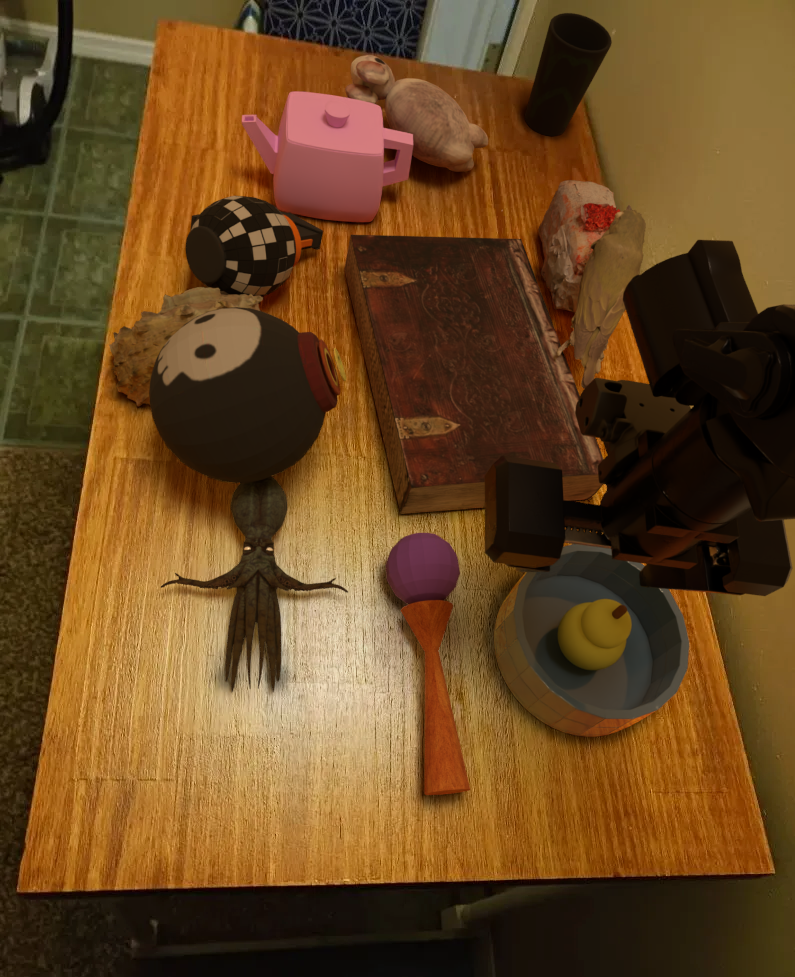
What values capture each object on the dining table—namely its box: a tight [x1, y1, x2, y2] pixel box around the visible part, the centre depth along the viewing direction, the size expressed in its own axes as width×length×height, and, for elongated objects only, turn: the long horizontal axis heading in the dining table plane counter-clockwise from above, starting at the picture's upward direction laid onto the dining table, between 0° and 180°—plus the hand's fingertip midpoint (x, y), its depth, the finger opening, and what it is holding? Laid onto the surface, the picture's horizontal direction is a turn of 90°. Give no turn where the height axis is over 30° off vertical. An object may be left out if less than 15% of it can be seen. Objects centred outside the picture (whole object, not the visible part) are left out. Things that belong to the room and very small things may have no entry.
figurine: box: [160, 476, 349, 693], centre depth 64 cm, size 14×6×18 cm
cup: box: [524, 12, 613, 137], centre depth 101 cm, size 8×8×12 cm
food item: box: [537, 179, 622, 314], centre depth 87 cm, size 14×8×10 cm, turn 5°
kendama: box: [384, 532, 471, 796], centre depth 63 cm, size 6×6×20 cm
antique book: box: [344, 234, 604, 515], centre depth 78 cm, size 29×19×5 cm, turn 12°
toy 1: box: [149, 307, 347, 484], centre depth 63 cm, size 14×14×15 cm
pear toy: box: [558, 599, 632, 670], centre depth 64 cm, size 5×5×9 cm
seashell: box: [109, 286, 264, 407], centre depth 72 cm, size 11×15×10 cm
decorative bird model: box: [556, 204, 647, 390], centre depth 78 cm, size 5×20×5 cm, turn 164°
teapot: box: [241, 90, 413, 223], centre depth 86 cm, size 18×10×10 cm, turn 92°
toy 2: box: [344, 54, 504, 212], centre depth 91 cm, size 28×8×15 cm
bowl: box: [493, 544, 690, 738], centre depth 66 cm, size 14×14×6 cm
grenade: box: [184, 195, 324, 298], centre depth 79 cm, size 11×10×15 cm
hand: (580, 572), depth 57 cm, fingers open, 9 cm apart
